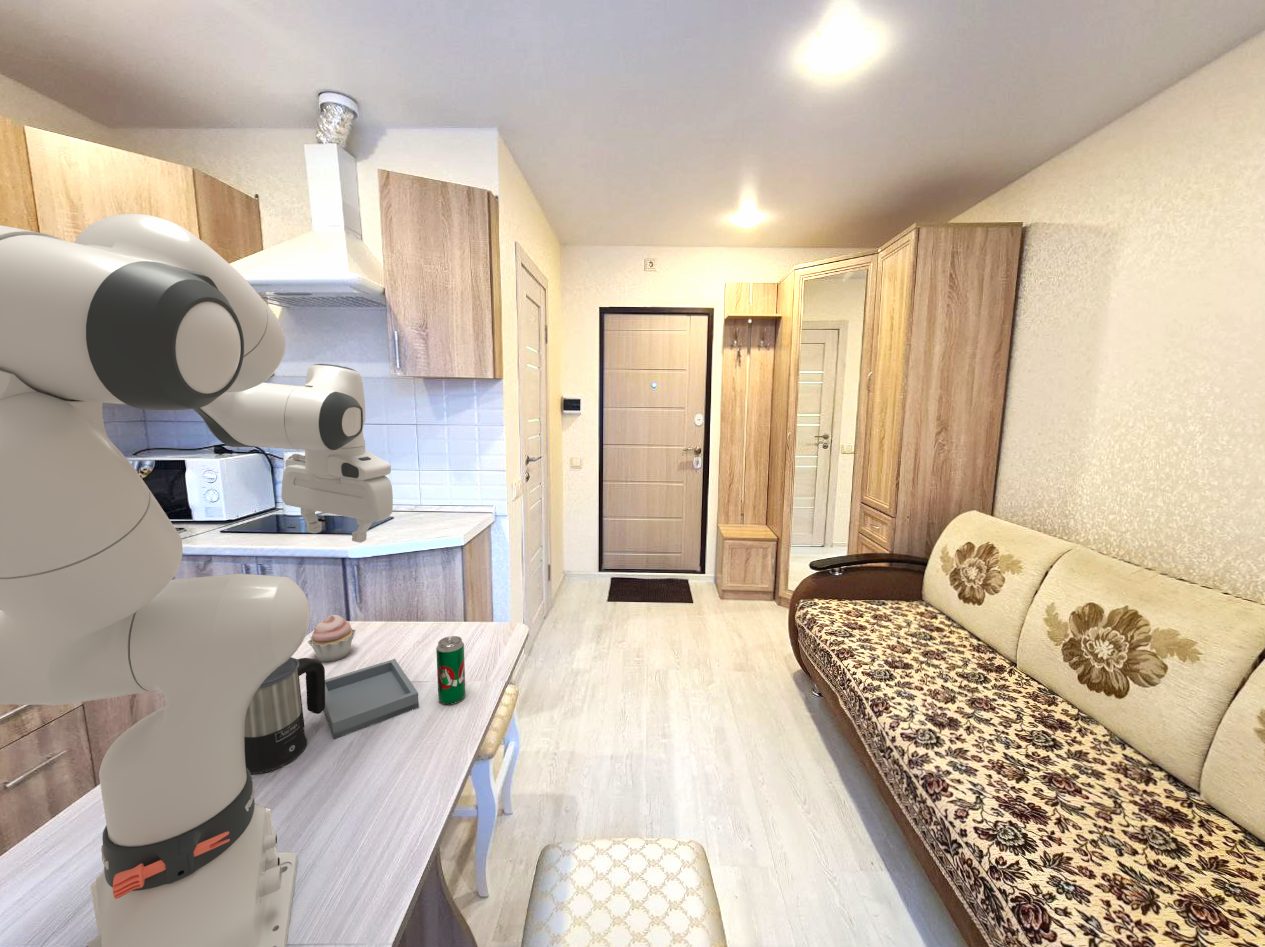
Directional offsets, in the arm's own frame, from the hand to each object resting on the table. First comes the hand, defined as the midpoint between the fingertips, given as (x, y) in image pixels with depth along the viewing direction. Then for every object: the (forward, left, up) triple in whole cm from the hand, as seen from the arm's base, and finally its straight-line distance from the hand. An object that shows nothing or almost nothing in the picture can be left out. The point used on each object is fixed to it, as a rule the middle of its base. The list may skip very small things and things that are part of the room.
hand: (336, 536), depth 85 cm
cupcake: (+25, -2, -34) cm, 43 cm away
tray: (+1, -4, -34) cm, 34 cm away
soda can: (-8, -17, -34) cm, 39 cm away
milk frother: (-1, +13, -34) cm, 36 cm away
